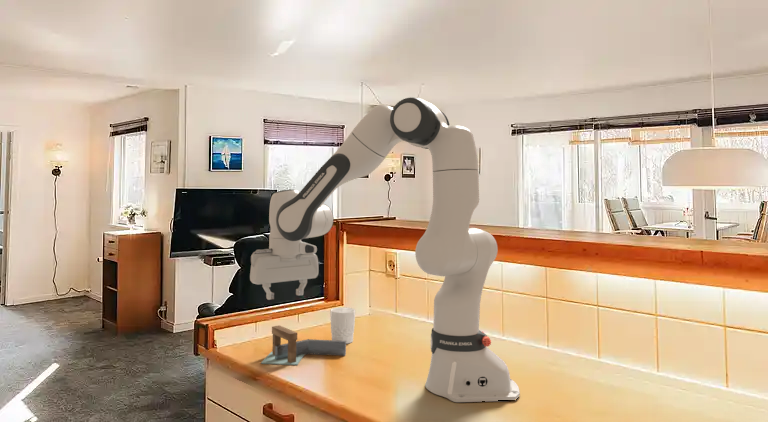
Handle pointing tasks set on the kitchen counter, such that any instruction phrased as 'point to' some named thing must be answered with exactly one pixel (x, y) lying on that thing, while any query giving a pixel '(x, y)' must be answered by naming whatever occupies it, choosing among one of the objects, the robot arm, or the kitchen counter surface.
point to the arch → (288, 335)
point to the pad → (281, 360)
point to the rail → (313, 348)
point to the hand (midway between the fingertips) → (285, 297)
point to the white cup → (342, 324)
